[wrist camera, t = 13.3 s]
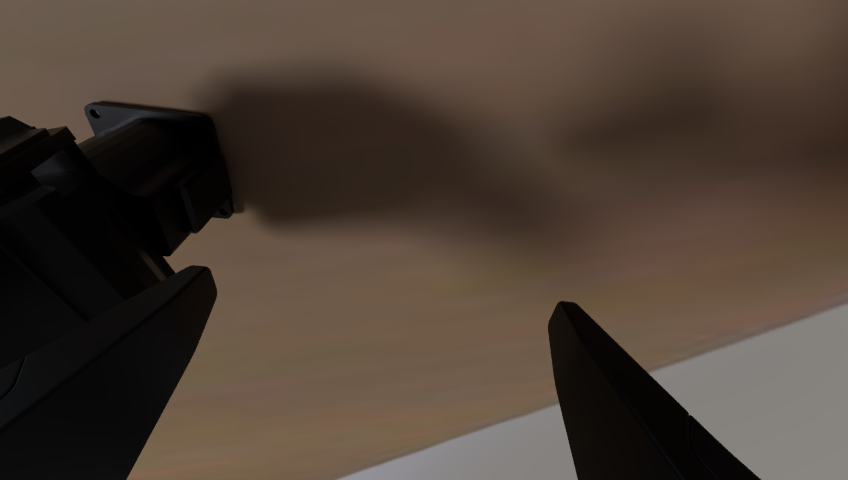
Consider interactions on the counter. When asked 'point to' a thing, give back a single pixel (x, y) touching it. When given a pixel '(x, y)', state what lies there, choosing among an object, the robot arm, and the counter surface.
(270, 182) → the counter surface
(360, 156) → the counter surface
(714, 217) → the counter surface
